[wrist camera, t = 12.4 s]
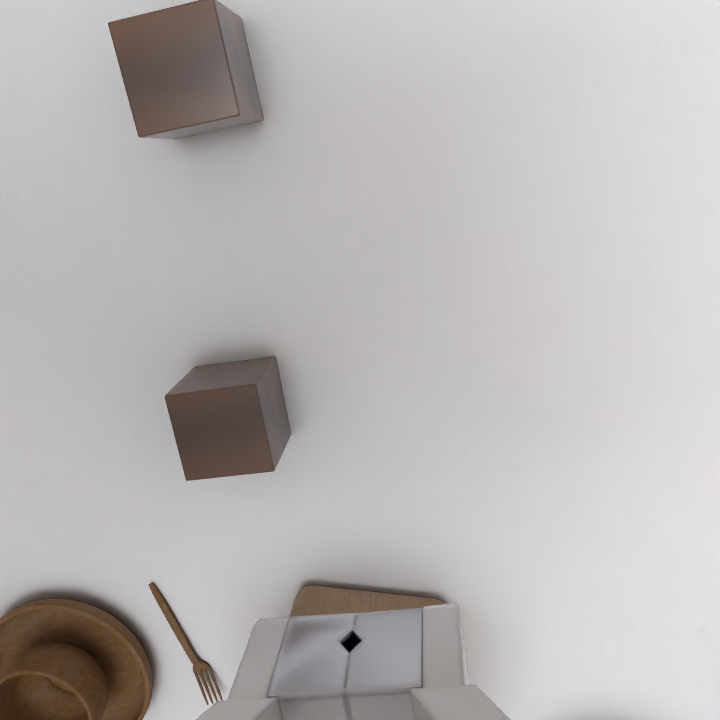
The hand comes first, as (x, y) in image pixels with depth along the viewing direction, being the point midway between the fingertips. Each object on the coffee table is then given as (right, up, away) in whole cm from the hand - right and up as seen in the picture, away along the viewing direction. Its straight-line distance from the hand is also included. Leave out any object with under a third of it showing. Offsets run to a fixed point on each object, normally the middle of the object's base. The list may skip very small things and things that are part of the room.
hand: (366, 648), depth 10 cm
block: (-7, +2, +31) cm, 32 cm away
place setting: (-18, -20, +39) cm, 47 cm away
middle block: (-8, +19, +25) cm, 33 cm away
